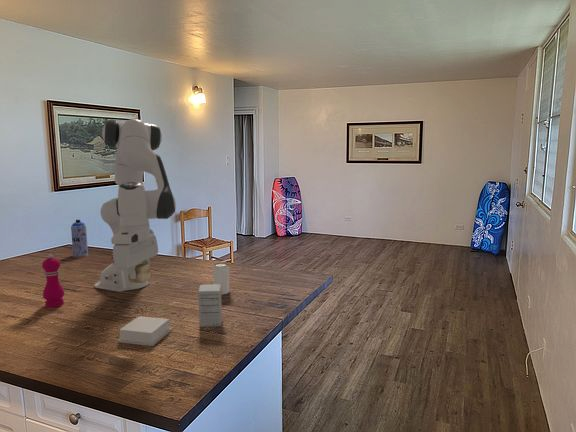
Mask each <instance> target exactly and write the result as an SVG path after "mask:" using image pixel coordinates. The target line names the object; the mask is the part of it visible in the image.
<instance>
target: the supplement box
mask: <svg viewBox="0 0 576 432" xmlns="http://www.w3.org/2000/svg"><path fill="white" fill-rule="evenodd" d="M197 294H198V298H197V299H198V316H199V317H198V320H199V327H201V328H202V327H205V328H206V327H221V326H222V322H223V321H222V319H223V312H222V311H223V309H222V295H221V284H214V283H212V284H210V283H209V284H200V285H199V289H198V293H197Z"/></svg>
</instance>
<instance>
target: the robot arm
mask: <svg viewBox="0 0 576 432" xmlns="http://www.w3.org/2000/svg"><path fill="white" fill-rule="evenodd" d="M104 123H105V124H104V125H103V126H102V131H101V135H102V137H101V138H102V139H103V141H104V143H105V145H106V146H107V147H111V148H117V149H116V154H115V163H114V164H115V166H114V167H115V168H114V183H115V184H116V185H117V186H118V192H117V197H115V198H114V197H113V198H111V199H110V200H107V201H106V202H104V203H103V204H102V205H101V208H100V217H101V219H102V220H103V221H104V222H105V224H107V225H108V226H109V228H110V229H111V231H112V234H113V235H112V237H111V239H110V242H111V244H112V245H113V247H112V256H111V257H110V260H112V263H111V264H110V265H108V266H106V268H105V269H103V270H102V271H101V272H100V276H99V281H97V282H95V284H94V288H96V289H102V290H107V291H112V292H118V293H121V292H125V291H130V290H132V291H133V290H138V289H141V288H144V287H146V286H148V285H149V280H147V281H146V282H144V283H129V278H128V272H129V273H130V278H131V279H135V278H137V277H138V274H137V272H135V269H134V268H135V265H136V264H138V263H143V264H150V260H151V258H153V257H155V256H157V255H158V254H159V246H158V242H157V241H158V240H157V237H156V235H155V232H154V231H153V230H152V229H151V227H150V221H149V220H151V219H152V220H153V219H155V220H156V219H158V220H168V219H169V218H171V217H172V216H173V215H174V214H175V213H176V208H177V204H176V199H175V197H174V194H173V191H172V189H171V186H170V183H169V179H168V175H167V173H166V169H165V166H164V163H163V161H162V158H161V156H160V155H159V154H157V153H156V152H154V151H156V150H157V149H158V148H160V145H161V143H162V141H163V135H162V131H161V128H160V127H159V126H158V125H156V124H153V123H145V122H144V121H142V120H140V119H135V118H131V119H127V120H117V119H112V120H107V121H106V122H104ZM144 172H145V173H147V174H150V175H152V176H153V177H154V180H155V182H156V186H157V189H153V190H145V186H144V184H143V182H144V180H143V179H144Z"/></svg>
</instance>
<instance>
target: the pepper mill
mask: <svg viewBox="0 0 576 432" xmlns="http://www.w3.org/2000/svg"><path fill="white" fill-rule="evenodd" d="M41 264H42V265H41V267H42V269H43V270H44V271H43V273H44V276H45V278H46V283H45V287H44V289H43V293H42V296H43V297H42V298H43V299H44V300H45V302H44V303H45V304H44V306H45V308H49V309H50V308H53V309H54V308H58V307H61V306H64V303H65V302H64V298H63V297H64V295H65V290H64V287H63V285H62V284H61V282H60V280H59V274H60V267H61V261H60V260H59V259H58V258H56V257H54V255H53V254H51V253H49V254H48V255H47V258H46V259H44V260H43V262H42V263H41Z"/></svg>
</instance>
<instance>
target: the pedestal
mask: <svg viewBox="0 0 576 432" xmlns="http://www.w3.org/2000/svg"><path fill="white" fill-rule="evenodd" d="M172 331H173V329H172V327H171V326H170V319H169V318H161V317H160V318H159V317H149V316H140V315H139V316H138V317H136V318H134V319H133V320H131V321H130V322H128V323H127V324H125V325H124V326H122V327H121V328H120V329H119V338H118V339H117V343H123V344H130V345H131V344H132V345H138V346H139V345H140V346H147V347H153V346H155V345H156V344H157V343H158V342H161V340H162V339H164V337H166V336H167V335H168V334H170V332H172Z"/></svg>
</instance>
